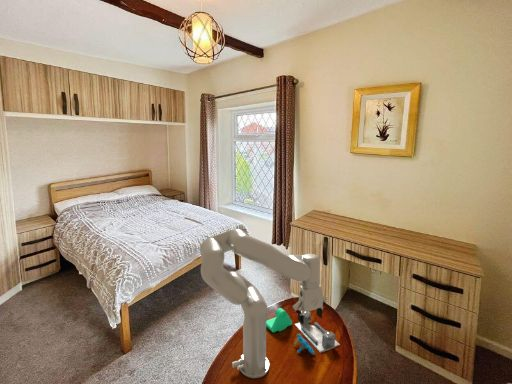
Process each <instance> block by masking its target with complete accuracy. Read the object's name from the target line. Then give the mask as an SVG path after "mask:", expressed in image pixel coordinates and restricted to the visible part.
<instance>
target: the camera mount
mask: <svg viewBox="0 0 512 384" xmlns="http://www.w3.org/2000/svg"><path fill="white" fill-rule="evenodd" d="M292 325H293V321H292V319H291V318H290V315H289V314H288V313H287V311H286V310H284V309H283V308H281V307H278V308H277V309H276V311H275V316H274V317H273V318H272V317H271V318H270V319H267V321H266V328H267V329H269V330H270V331H271V332H272V333H276V332H281V331H283V330H285V329H287V327H290V326H292Z"/></svg>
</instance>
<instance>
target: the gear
mask: <svg viewBox="0 0 512 384" xmlns="http://www.w3.org/2000/svg"><path fill="white" fill-rule="evenodd" d="M296 337H297V338H296V341H295V342H294V345H297V344H298V343H299V344H300V348H299V349H297V351H296V352H297V353H298V354H300V353H301V352H302V350H303V349H306V350H307V351H308V352H309V354H312V355H315V351H314V349H313V347H312V346H311V344H310V343H309V341H308V340H306V339H305V338H303V336H302V335H301V334H300V333H297V334H296Z"/></svg>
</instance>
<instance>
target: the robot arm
mask: <svg viewBox="0 0 512 384" xmlns="http://www.w3.org/2000/svg"><path fill="white" fill-rule="evenodd" d="M199 251H200V253H199V254H200V257H201V265H200V275H201V278H202V280H203V281H204V282H205V283H206V284H207V285H208V286H209V287H210V288H211V289H213V290H214V291H216V293H218V294H219V295H220V296H222V297H223V298H224V299H225V300H226V301H228V302H229V303H231V304H233V305H235V306H236V305H238V306H239V305H240V306H241V309H242V311H243V323H242V353H243V354H242V355H240V358H239V359H238V360H235V361H232V362H231V366H232V368H237V371H240V372H241V374H242V375H244V376H245V377H247V378H251V379H258V378H262V377H264V376H266V375H267V374H268V372H269V370H270V361H269V359H268V358H267V326H266V321H267V320H268V313H269V309H268V305H267V302H266V300H265V299H264V297H263V295H262V294H261V292H260V291H259V289H258V288H257V287H256V286H255V285H254V284H253V283H252V282H250V281H249V280H248V279H246V278H245V277H244V276H243V275H242V274H240V273H239V272H237V271H229V270H227V268H225V267H224V263H225V253H228V252H232V253H233V254H236V255H237V256H239V257H242V258H245V259H247V260H249V261H252V262H254V263H257V264H260V265H262V266H264V267H266V268H268V269H269V270H272V271H274V272H276V273H277V274H279V275H281V276H283V277H286V278H287V279H288V278H289V279H290V280H293V281H297V282H300V283H299V285H300V288H299V291H298V293H299V294H298V301H296V303H295V304H293V305H292V309H293V310H294V312H295V313H297V320H298V323H301V324H303V323H304V315H303V313H304V312H308V311H309V312H311V311H315V310H316V312H315V313H316V316H318V318H319V319H322V318H323V310H324V306H325V305H326V302H327V300H328V297H326V296H324V295H323V289H322V284H321V283H320V275H321V273H320V271H321V269H320V268H321V267H320V266H321V258H320V257H319V255H317V254H314V253H305V254H288V255H286V254H285V253H283V252H282V251H280V250H279V249H277V247H275V246H273V245H271V244H270V243H267V242H264V241H263V240H260V239H258V238H255V237H253V236H250V235H248V234H247V233H246V232H245V231H244V230H242V229H240V228H234V229H230V230H226V231H224V232H221V233H219V234H216V235H213V236H210V237H208V238H206V239H204V240H203V241H202V243H200V245H199Z"/></svg>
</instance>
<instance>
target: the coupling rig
mask: <svg viewBox="0 0 512 384" xmlns="http://www.w3.org/2000/svg"><path fill="white" fill-rule="evenodd" d="M303 315H304V323H303V324H301V323H300V322H297V323H294V325H295V327H296V328H297V329H298V330H299V331H300V332H301V334H302V335H303V336H304V337H305V338H306V339H307V341H308V342H309V343H310V345H312V346H313V347H314V348H315V349H316V350H317V352H318V353H320V354H321V353H324V352H326V351H330V350H332V349H334V348H336V347H339V346H340V343H339V342H338V341H337V340H336V334H335V333H334V332H333V331H329V330H326V329H324V328H323V327H322V326H321V325H320V324H319V323H318V322H316V321H315V322H314V323H313V324H314V325H312V323H311V321H312V320H311V319H312V313H311V311H308V312H304V313H303Z"/></svg>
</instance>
